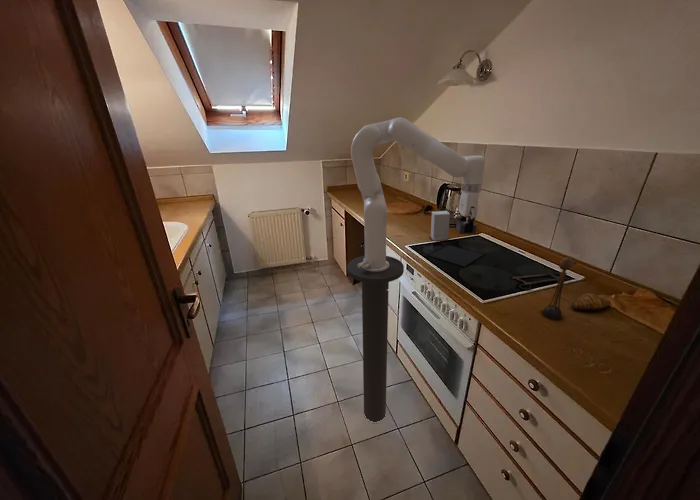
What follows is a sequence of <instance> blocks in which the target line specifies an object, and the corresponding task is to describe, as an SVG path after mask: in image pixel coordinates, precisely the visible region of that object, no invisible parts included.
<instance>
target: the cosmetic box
mask: <svg viewBox="0 0 700 500" xmlns="http://www.w3.org/2000/svg"><path fill="white" fill-rule="evenodd" d="M450 218H451V213H450V212H449V211H448V210H438V211H431V219H430V220H431V221H430V222H431V223H430V238H431V240H432V241H433V242H434V241H435V242H436V241H448V240H449V232H450V221H451V219H450Z"/></svg>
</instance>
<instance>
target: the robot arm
mask: <svg viewBox="0 0 700 500" xmlns="http://www.w3.org/2000/svg"><path fill="white" fill-rule="evenodd" d="M392 142H396V143H398V144H400V145H401V146H403V147H404V148H406V149H407V150H409V151H411V152H412V153H413V154H415V155H416V156H418V157H420V158H421V159H423V160H425V161H427V162H430V163H431V164H433V165H435V166H436V167H438V168H440V169H441V170H443V171H444V172H445V173H446V174H448V175H449V176H451V177H453V178H461V187H460V192H461V194H460V198H459V202H458V203H459V205H458V212H459V214H460V219H459V221H466V223H465V230H464V232H465V233H472V232H473V225H474V223H475V221H476V217H477V214H478V210H479V209H478V208H479V199H480V198H479V197H480V193H481V192H482V185H483V179H484V172H485V165H486V158H485V156H483V155H467V156H466V155H461V154H459V153H458V152H456V151H455V150H453V149H452V148H450V147H449V146H447V145H445V144H444V143H443V142H441V141H440V140H438V139H437V138H435V137H434V136H432V135H431V134H430V133H428V132H426V131H425V130H424V129H422V128H421V127H419V126H418V125H416V124H415V123H413V122H411V121H410V120H408V119H407V118H405V117H402V116H398V117H395V118H392V119H388V120H385V121H380V122H375V123H368V124H366V125H364V126H363V127H362V128H361V129H360V130H359V131H358V132H357V133H356V134H355V136H354V138H353V139H352V142H351V147H350V157H351V161H352V166H353V170H354V174H355V178H356V182H357V188H358V191H360V193H361V197H362V201H363V226H364V231H363V232H364V256H365V258H363V261H362V263H359V264H357V266H358V268H361V267H362V268H363V269H365V270H367V271H371V272H380V271H384V270H386V269H388V268H389V263H388V262H387V261H386V256H387V223H388V222H387V220H388V206H387V203H386V198H385V195H384V191H383V190H384V189H383V187H382V183H381V182H382V181H381V179H380V176H379V174H378V171H377V169H376V168H377V167H376V164H375V160H374V155H373V154H374V152H373V151H374V148H375V147H377V146H379V145H383V144H388V143H392Z"/></svg>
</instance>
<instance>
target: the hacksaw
mask: <svg viewBox="0 0 700 500" xmlns="http://www.w3.org/2000/svg"><path fill="white" fill-rule="evenodd" d="M562 271H563V270H562ZM562 271H557V272H556V271H555V272H548V273H538V274H530V275H529V274H528V275H520V276H517V275H516V276H511V278H512V279H513V280H517V281H519V282H522V284H520V285H519V286H518V287H519V288H520V289H522V290H524V291H525V290H526V291H528V290H531V289H532V287H531V286H533V285H537V284H542V283H549V282H558V279H559V276H560V272H562ZM545 276H549V277H552V278H549V279H542V280H533V281H529V282H527V281H525V280H523V279H526V278H527V279H528V278H535V277H545ZM565 280H568V281H569V282H571V281H572V280H571V278H569V277H565ZM521 286H529V287H528V288H524V287H521Z"/></svg>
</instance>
